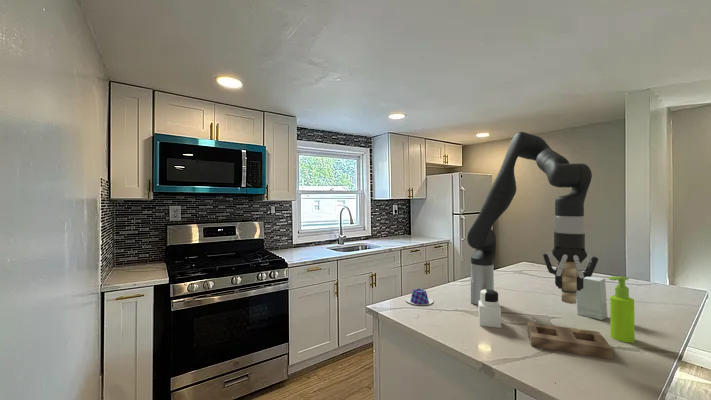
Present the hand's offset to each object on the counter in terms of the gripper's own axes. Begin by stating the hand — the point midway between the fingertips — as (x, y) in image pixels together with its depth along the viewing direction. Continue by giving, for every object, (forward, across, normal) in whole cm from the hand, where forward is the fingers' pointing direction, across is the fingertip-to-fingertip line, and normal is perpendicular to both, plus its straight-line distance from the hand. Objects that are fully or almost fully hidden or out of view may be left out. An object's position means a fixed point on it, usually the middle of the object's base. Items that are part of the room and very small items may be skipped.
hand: (569, 288), depth 91 cm
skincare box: (+19, +13, +37) cm, 44 cm away
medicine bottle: (+19, -22, +13) cm, 32 cm away
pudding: (+20, -51, +27) cm, 61 cm away
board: (+19, 0, +6) cm, 20 cm away
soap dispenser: (+19, +17, +18) cm, 31 cm away
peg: (+4, 0, 0) cm, 4 cm away
